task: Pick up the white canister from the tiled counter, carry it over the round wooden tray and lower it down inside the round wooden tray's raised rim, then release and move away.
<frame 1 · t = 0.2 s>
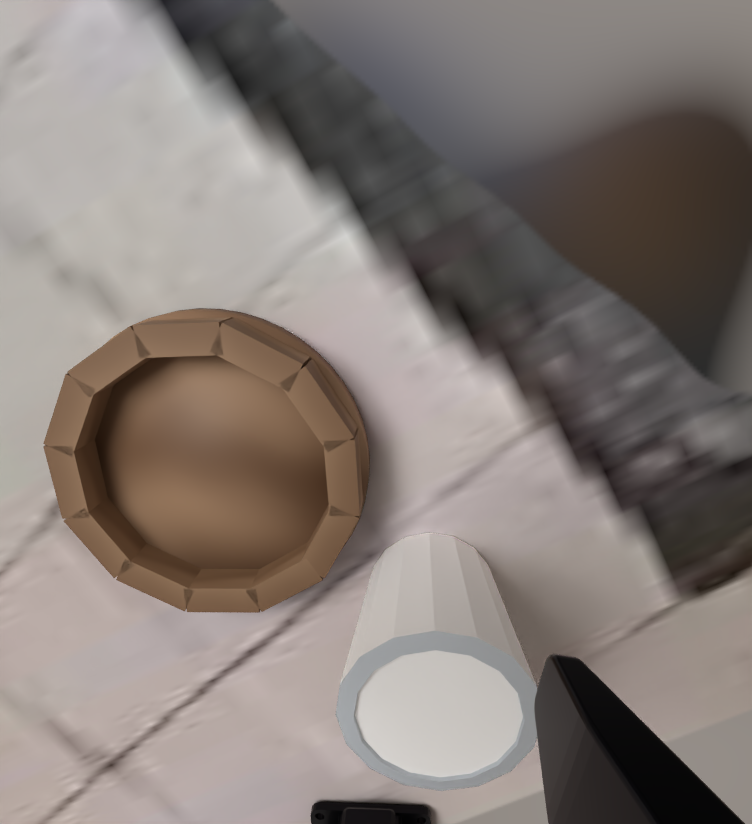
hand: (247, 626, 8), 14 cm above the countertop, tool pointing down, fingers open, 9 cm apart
round wooden tray: (221, 459, 22), on the countertop
white canister: (430, 583, 24), on the countertop
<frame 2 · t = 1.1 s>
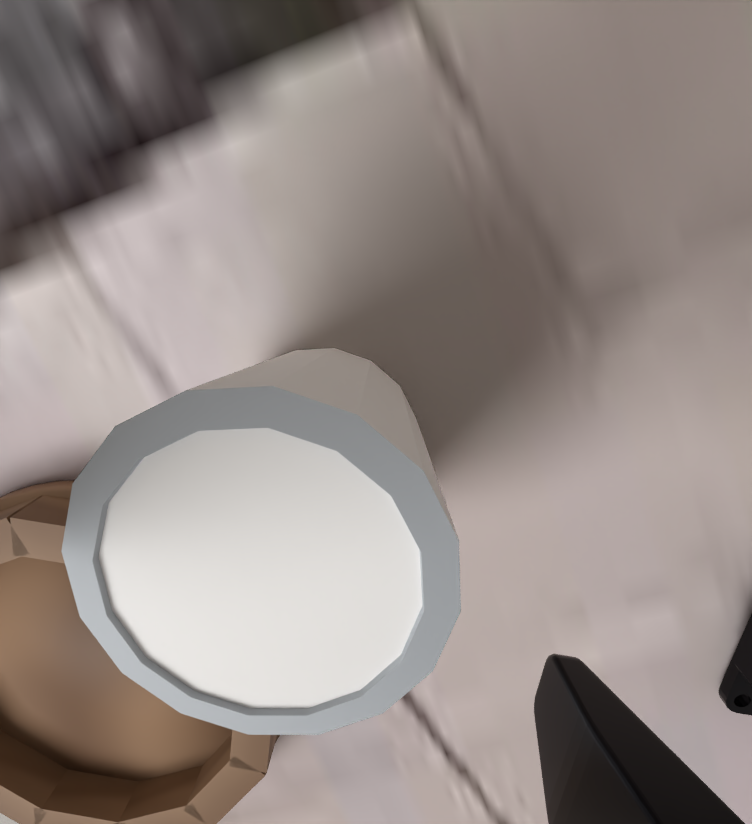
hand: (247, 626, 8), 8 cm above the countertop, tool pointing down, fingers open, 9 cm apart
round wooden tray: (113, 649, 18), on the countertop
white canister: (325, 438, 15), on the countertop
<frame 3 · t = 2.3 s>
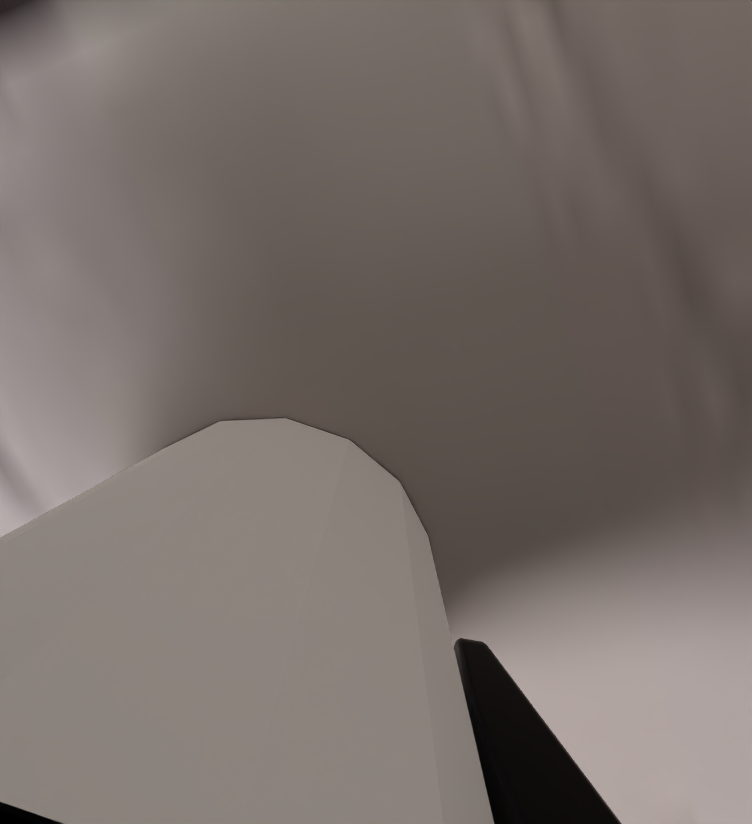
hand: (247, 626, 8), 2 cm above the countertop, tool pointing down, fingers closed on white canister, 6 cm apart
white canister: (276, 560, 9), on the countertop, touching gripper
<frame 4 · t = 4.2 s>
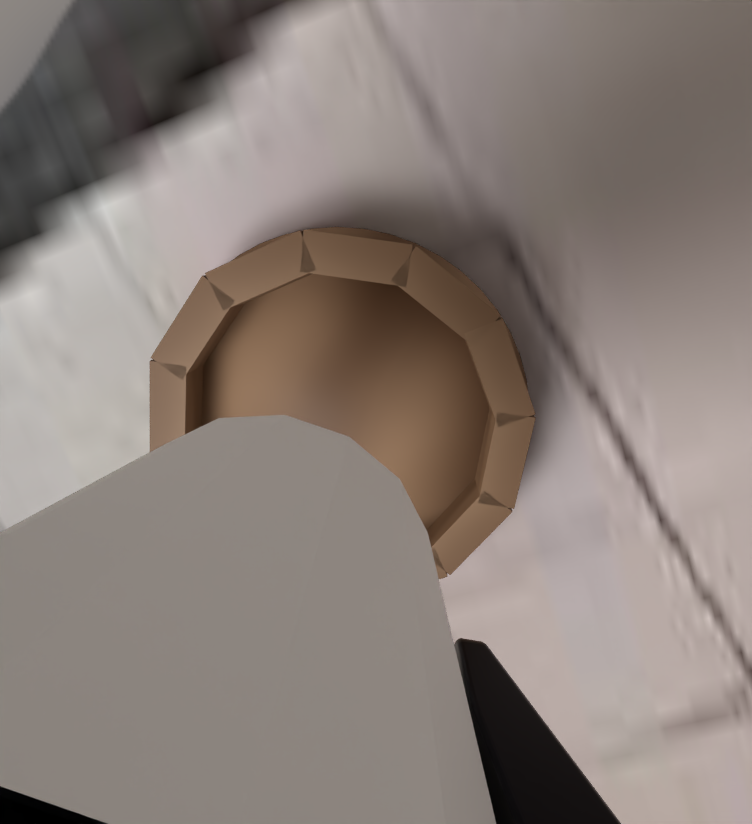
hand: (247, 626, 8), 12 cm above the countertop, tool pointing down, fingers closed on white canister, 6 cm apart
round wooden tray: (343, 416, 19), on the countertop
white canister: (276, 558, 9), point 10 cm above the countertop, touching gripper
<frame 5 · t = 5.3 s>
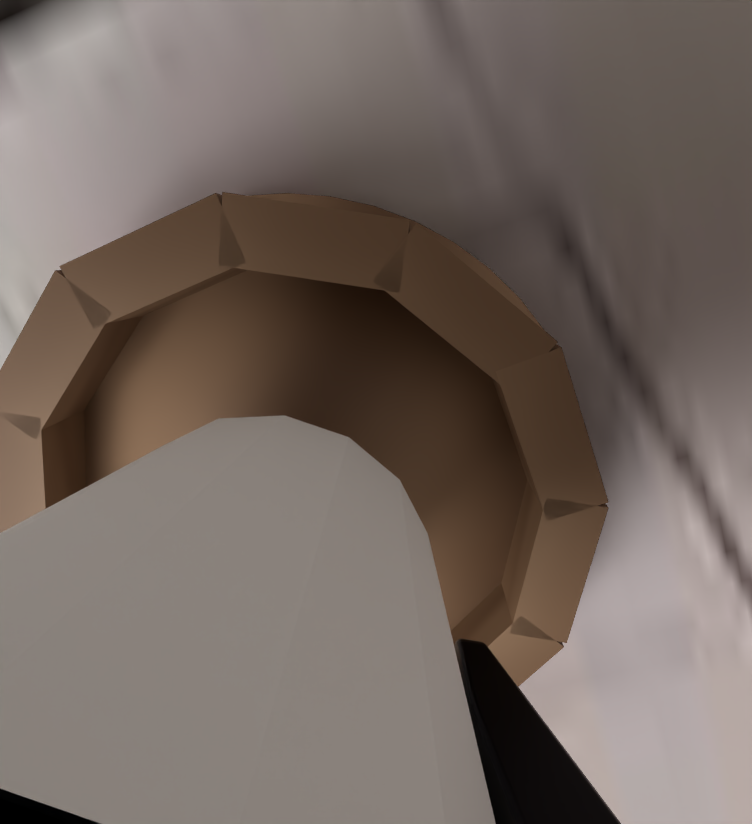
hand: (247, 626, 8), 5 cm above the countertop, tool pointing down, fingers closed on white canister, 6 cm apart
round wooden tray: (304, 483, 12), on the countertop
white canister: (275, 558, 9), point 3 cm above the countertop, touching gripper
when the fingers open (3 cm above the countertop, at t = 6.2 s): white canister stays where it is, resting on round wooden tray.
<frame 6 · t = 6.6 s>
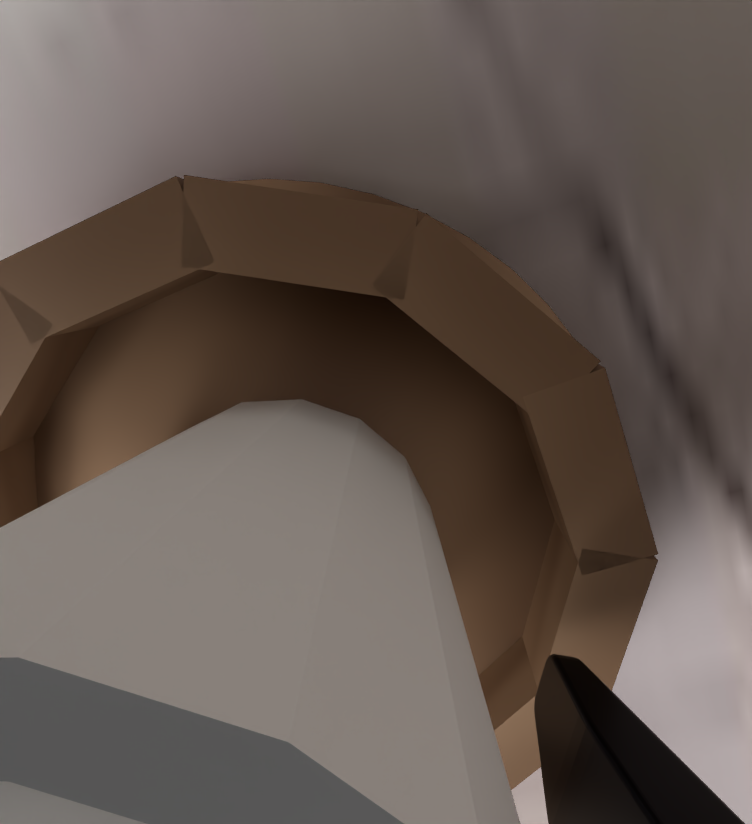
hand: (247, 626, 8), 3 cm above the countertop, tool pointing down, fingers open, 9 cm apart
round wooden tray: (293, 519, 11), on the countertop
white canister: (291, 531, 10), point 1 cm above the countertop, touching round wooden tray
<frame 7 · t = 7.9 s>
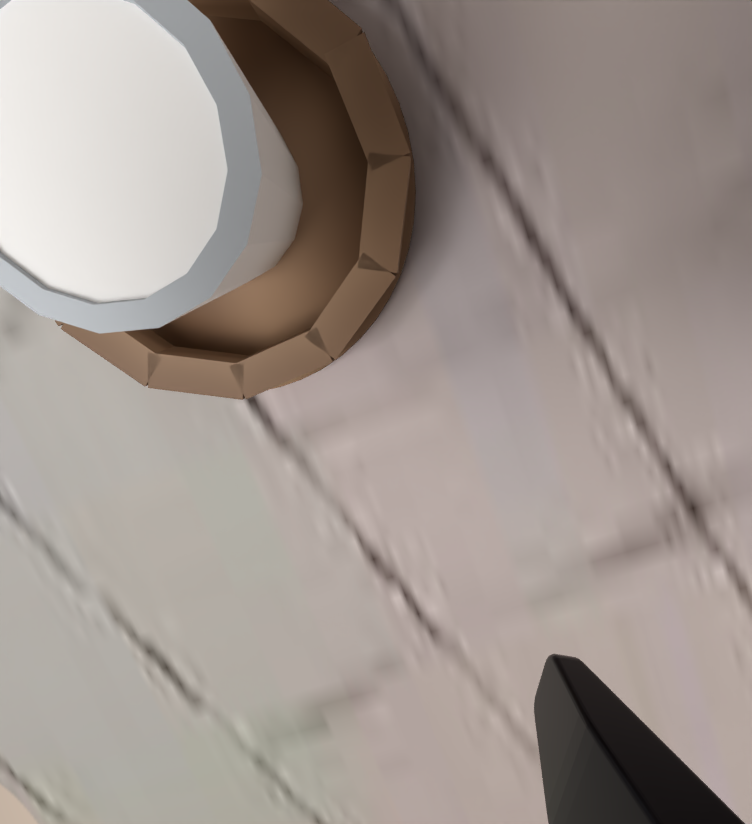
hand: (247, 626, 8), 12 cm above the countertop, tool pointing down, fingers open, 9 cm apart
round wooden tray: (222, 201, 17), on the countertop
white canister: (218, 196, 17), point 1 cm above the countertop, touching round wooden tray
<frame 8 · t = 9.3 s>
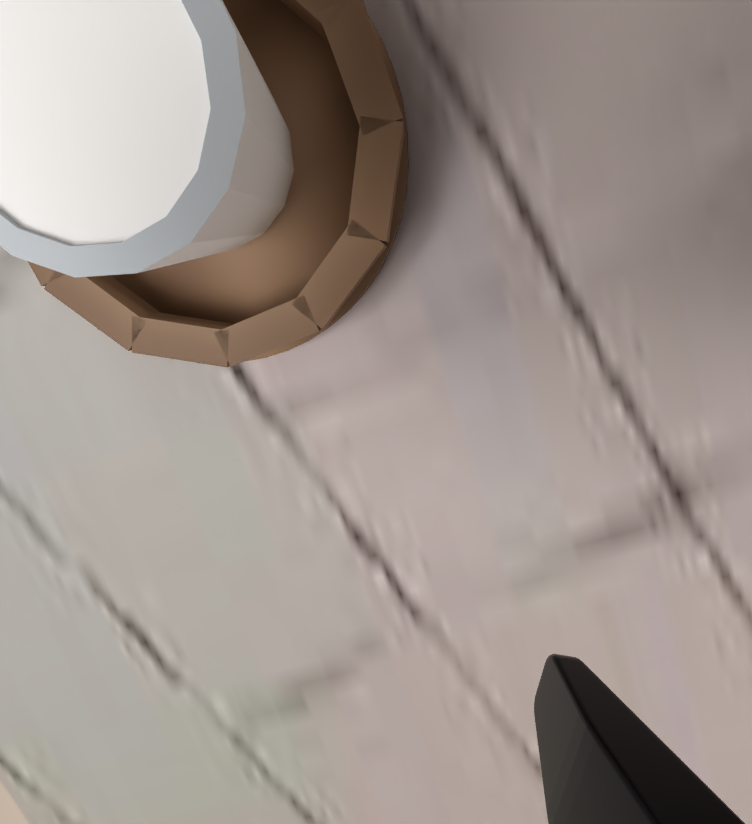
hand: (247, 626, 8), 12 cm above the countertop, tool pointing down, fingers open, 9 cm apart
round wooden tray: (213, 165, 17), on the countertop
white canister: (208, 160, 16), point 1 cm above the countertop, touching round wooden tray
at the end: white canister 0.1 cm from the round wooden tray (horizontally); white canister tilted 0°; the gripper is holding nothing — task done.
